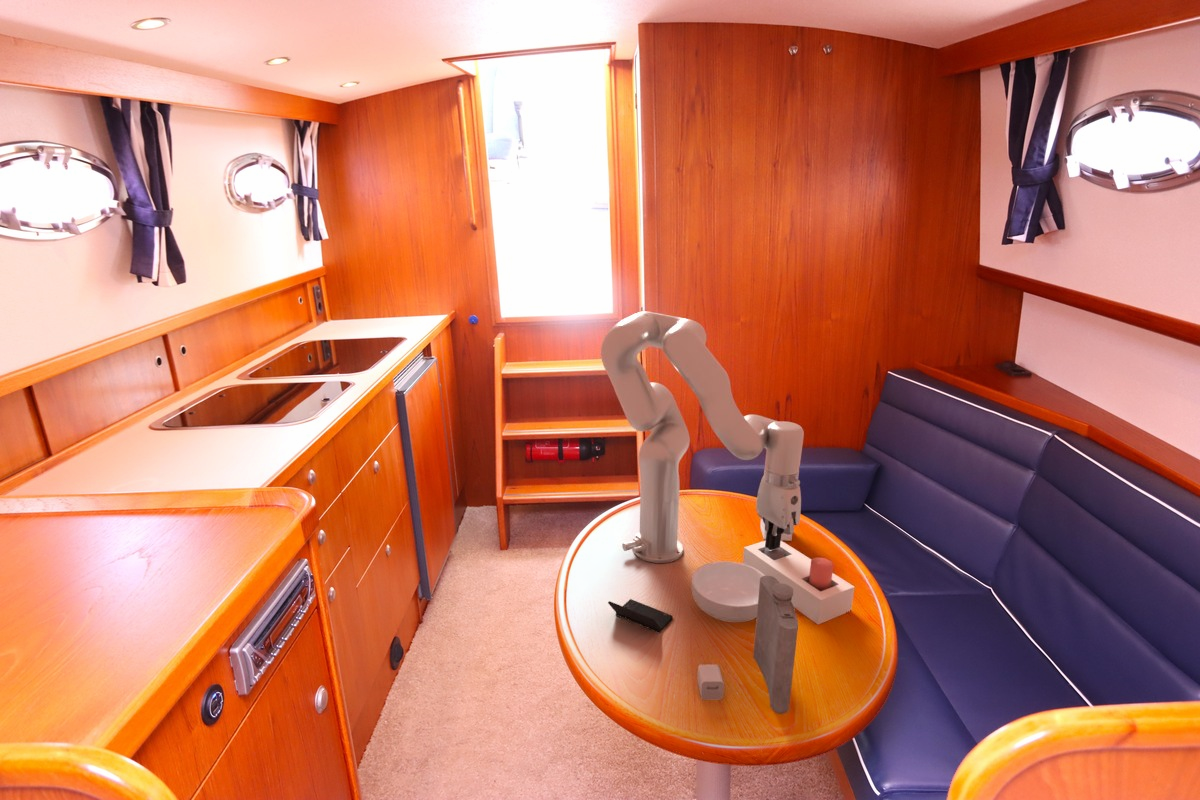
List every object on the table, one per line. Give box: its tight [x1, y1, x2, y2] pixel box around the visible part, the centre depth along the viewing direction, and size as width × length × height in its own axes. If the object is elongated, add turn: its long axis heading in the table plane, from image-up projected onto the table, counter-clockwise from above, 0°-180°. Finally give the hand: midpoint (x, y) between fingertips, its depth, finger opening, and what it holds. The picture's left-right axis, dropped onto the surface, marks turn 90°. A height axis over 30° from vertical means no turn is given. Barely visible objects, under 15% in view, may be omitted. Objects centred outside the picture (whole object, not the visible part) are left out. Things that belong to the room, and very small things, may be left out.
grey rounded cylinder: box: [764, 547, 785, 560], centre depth 155 cm, size 5×5×6 cm
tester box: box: [742, 539, 855, 625], centre depth 150 cm, size 10×24×6 cm, turn 29°
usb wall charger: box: [696, 662, 725, 701], centre depth 121 cm, size 4×7×4 cm, turn 0°
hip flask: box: [752, 576, 799, 715], centre depth 119 cm, size 16×4×20 cm, turn 1°
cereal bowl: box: [690, 560, 765, 623], centre depth 142 cm, size 17×17×7 cm
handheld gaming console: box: [607, 598, 674, 634], centre depth 139 cm, size 12×7×10 cm
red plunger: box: [808, 557, 834, 591], centre depth 142 cm, size 5×5×6 cm
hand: (772, 547), depth 154 cm, fingers closed
